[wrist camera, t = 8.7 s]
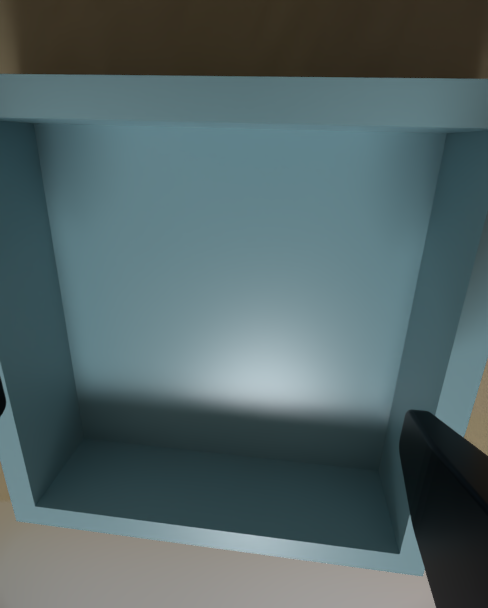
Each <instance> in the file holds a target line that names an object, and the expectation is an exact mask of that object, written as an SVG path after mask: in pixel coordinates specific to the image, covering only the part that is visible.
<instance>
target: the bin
mask: <svg viewBox="0 0 488 608" xmlns="http://www.w3.org/2000/svg"><path fill="white" fill-rule="evenodd" d="M487 358H488V79H451V78H354V77H257V76H160V75H64V74H0V377H1V380H2V384H3V389H4V393H5V397H6V408H5V410H4V412H3V414H2V415H1V417H0V461H1V465H2V468H3V472H4V476H5V480H6V483H7V487H8V491H9V495H10V498H11V502H12V506H13V509H14V513H15V517H16V520H17V521H20V522H28V523H34V524H42V525H49V526H57V527H64V528H72V529H78V530H86V531H94V532H101V533H108V534H115V535H122V536H130V537H137V538H145V539H152V540H159V541H167V542H174V543H182V544H189V545H196V546H203V547H211V548H218V549H226V550H233V551H240V552H248V553H255V554H262V555H270V556H277V557H285V558H292V559H299V560H306V561H314V562H321V563H328V564H336V565H343V566H350V567H358V568H365V569H372V570H380V571H387V572H395V573H402V574H410V575H417V576H423V573H424V570H425V568H424V565H423V561H422V558H421V554H420V551H419V548H418V544H417V541H416V537H415V534H414V530H413V526H412V521H411V516H410V511H409V505H408V500H407V494H406V489H405V483H404V477H403V472H402V466H401V460H400V455H399V440H400V435H401V431H402V426H403V421H404V417H405V414H406V412H407V411H408V410H410V409H413V410H424V411H429V412H431V413H432V414H433V415H435V416H436V417H437V418H439V419H440V420H441V421H443V422H444V423H445V424H446V425H448V426H449V427H450V428H452V429H453V430H454V431H456V432H457V433H458V434H460V435H461V436H462V437H464V435H465V432H466V429H467V425H468V422H469V419H470V415H471V412H472V408H473V405H474V402H475V398H476V395H477V392H478V388H479V385H480V382H481V378H482V375H483V371H484V368H485V365H486V361H487Z"/></svg>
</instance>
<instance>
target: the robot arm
mask: <svg viewBox="0 0 488 608" xmlns="http://www.w3.org/2000/svg"><path fill="white" fill-rule="evenodd" d="M5 408H6V397H5V393H4V389H3V384H2V380H1V377H0V417H1V415H2V414H3V412H4V410H5ZM399 455H400V460H401V466H402V472H403V477H404V483H405V489H406V494H407V500H408V505H409V511H410V516H411V521H412V526H413V530H414V534H415V537H416V541H417V544H418V548H419V551H420V554H421V558H422V561H423V565H424V568H425V571H426V575H427V578H428V581H429V585H430V588H431V591H432V595H433V598H434V601H435V605H436V608H488V456H487V455H486V454H485V453H483V452H482V451H481V450H479V449H478V448H477V447H475V446H474V445H473V444H471V443H470V442H469V441H467V440H466V439H465V438H464V437H462V436H461V435H460V434H458V433H457V432H456V431H454V430H453V429H452V428H450V427H449V426H448V425H446V424H445V423H444V422H443V421H441V420H440V419H439V418H437V417H436V416H435V415H433V414H432V413H431V412H429V411H424V410H413V409H410V410H408V411H407V412H406V414H405V417H404V421H403V426H402V431H401V435H400V440H399Z"/></svg>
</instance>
